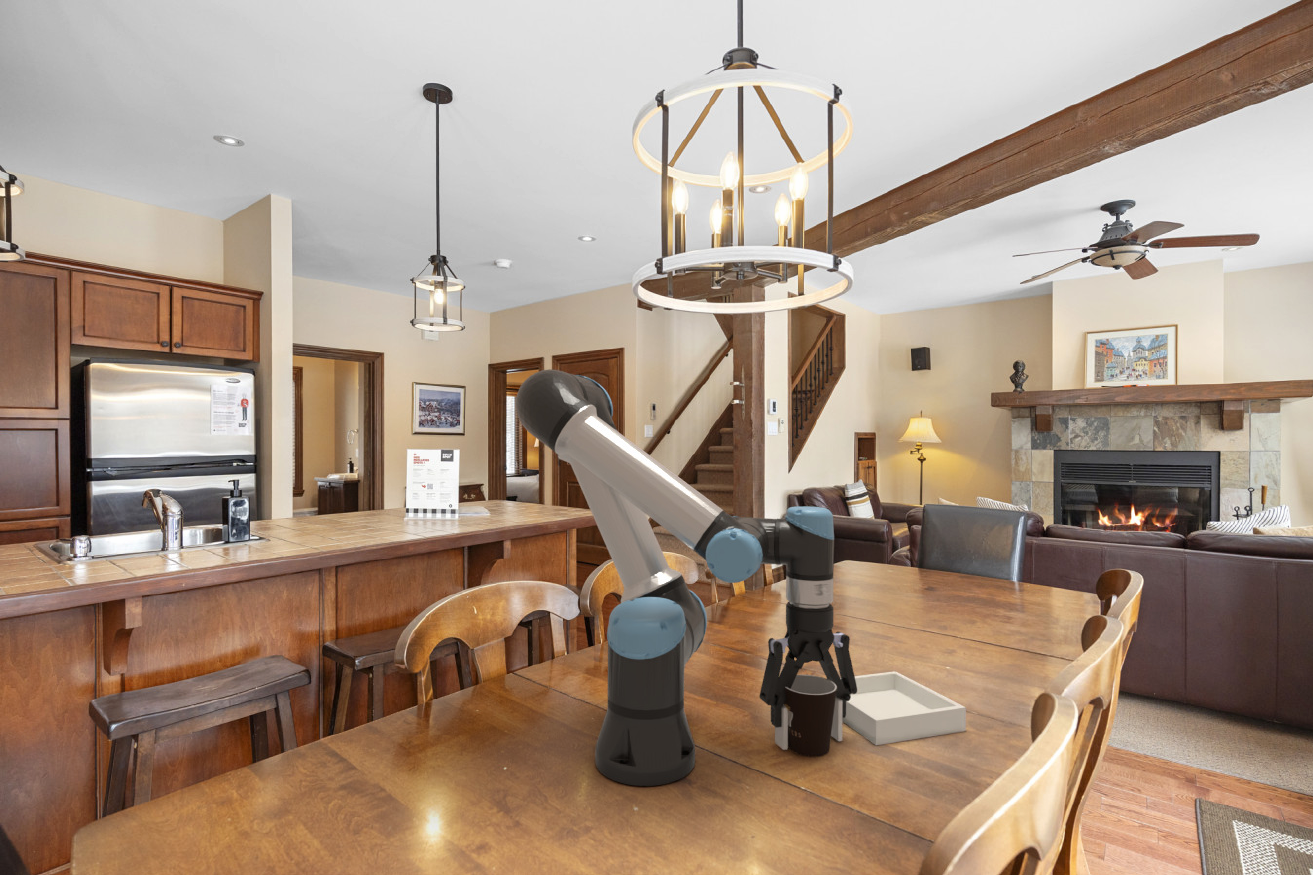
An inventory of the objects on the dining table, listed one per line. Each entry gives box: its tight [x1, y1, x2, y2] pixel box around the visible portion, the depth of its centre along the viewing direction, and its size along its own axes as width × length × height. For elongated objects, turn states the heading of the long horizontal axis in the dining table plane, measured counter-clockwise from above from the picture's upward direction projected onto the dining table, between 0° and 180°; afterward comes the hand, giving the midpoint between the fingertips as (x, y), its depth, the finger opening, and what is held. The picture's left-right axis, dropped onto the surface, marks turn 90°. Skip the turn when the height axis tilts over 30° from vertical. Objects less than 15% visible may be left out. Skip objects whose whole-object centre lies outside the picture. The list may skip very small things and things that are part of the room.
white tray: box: [840, 670, 967, 746], centre depth 115 cm, size 18×18×4 cm
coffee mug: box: [784, 674, 837, 758], centre depth 105 cm, size 12×9×10 cm
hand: (808, 741), depth 104 cm, fingers open, 9 cm apart
